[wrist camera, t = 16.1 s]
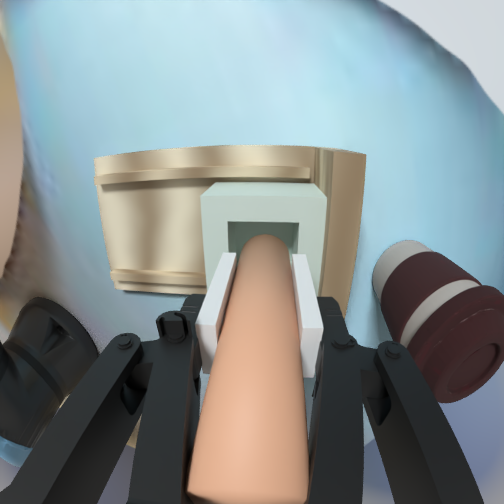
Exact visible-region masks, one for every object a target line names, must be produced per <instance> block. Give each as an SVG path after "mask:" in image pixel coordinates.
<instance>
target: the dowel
mask: <svg viewBox="0 0 504 504" xmlns="http://www.w3.org/2000/svg"><path fill="white" fill-rule="evenodd" d="M308 483H309V448H308V432H307V418H306V405H305V392H304V381H303V370H302V359H301V350H300V340H299V331H298V322H297V313H296V304H295V295H294V287H293V279H292V271H291V263H290V255H289V251H288V248H287V246H286V245H285V243H284V242H283V241H282V240H281V239H279V238H278V237H275V236H273V235H268V234H261V235H257V236H254V237H252V238H250V239H249V240H248V241H247V242H246V243H245V244H244V246H243V248H242V250H241V254H240V258H239V262H238V265H237V269H236V273H235V277H234V281H233V285H232V289H231V293H230V297H229V301H228V304H227V308H226V312H225V316H224V320H223V324H222V328H221V332H220V336H219V340H218V344H217V348H216V352H215V356H214V360H213V364H212V368H211V372H210V376H209V381H208V385H207V389H206V393H205V397H204V401H203V405H202V409H201V413H200V418H199V422H198V426H197V430H196V434H195V439H194V443H193V447H192V451H191V456H190V460H189V464H188V470H187V476H186V484H185V493H186V494H187V495H188V497H189V498H190V499H191V500H192V502H193V503H194V504H304V502H305V501H306V500H307V491H308Z"/></svg>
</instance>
